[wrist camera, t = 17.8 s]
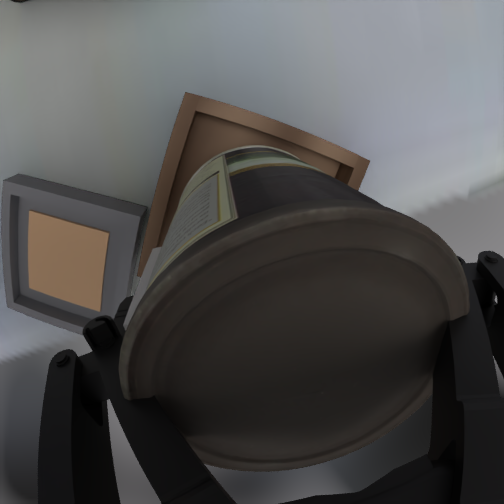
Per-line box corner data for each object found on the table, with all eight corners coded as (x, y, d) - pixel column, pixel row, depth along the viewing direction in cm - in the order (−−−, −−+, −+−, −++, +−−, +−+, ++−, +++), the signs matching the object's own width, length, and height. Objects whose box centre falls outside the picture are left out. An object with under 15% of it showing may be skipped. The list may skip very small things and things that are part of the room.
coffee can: (298, 119, 17) (468, 141, 5) (343, 255, 22) (455, 400, 9) (147, 185, 18) (35, 326, 5) (216, 308, 23) (227, 490, 10)
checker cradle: (18, 294, 25) (7, 307, 22) (18, 173, 20) (3, 180, 18) (125, 329, 28) (120, 346, 26) (147, 207, 23) (140, 216, 21)
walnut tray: (145, 255, 25) (137, 276, 22) (189, 96, 20) (185, 92, 17) (291, 292, 28) (300, 314, 25) (350, 154, 23) (370, 160, 20)
